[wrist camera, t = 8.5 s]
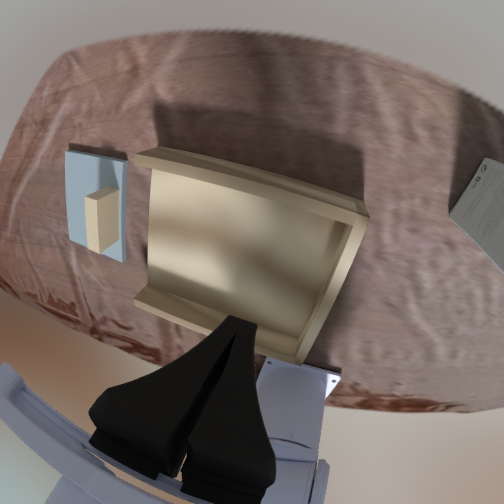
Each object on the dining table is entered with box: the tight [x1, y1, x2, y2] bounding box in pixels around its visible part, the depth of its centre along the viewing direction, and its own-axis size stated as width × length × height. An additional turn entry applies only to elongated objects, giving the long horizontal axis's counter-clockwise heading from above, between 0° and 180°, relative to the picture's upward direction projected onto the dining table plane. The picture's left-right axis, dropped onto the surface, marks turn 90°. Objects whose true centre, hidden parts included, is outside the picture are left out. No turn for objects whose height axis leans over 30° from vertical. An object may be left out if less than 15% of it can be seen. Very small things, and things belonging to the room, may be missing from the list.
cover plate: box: [65, 150, 128, 262], centre depth 23 cm, size 10×8×4 cm
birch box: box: [134, 146, 370, 367], centre depth 21 cm, size 14×16×4 cm
